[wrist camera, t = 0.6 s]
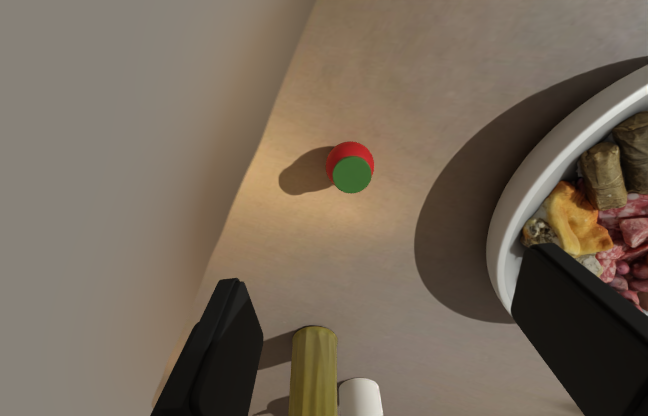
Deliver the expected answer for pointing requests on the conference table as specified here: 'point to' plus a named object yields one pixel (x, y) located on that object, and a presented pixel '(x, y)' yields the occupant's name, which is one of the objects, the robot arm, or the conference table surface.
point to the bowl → (583, 195)
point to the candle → (360, 398)
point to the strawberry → (350, 167)
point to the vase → (313, 373)
